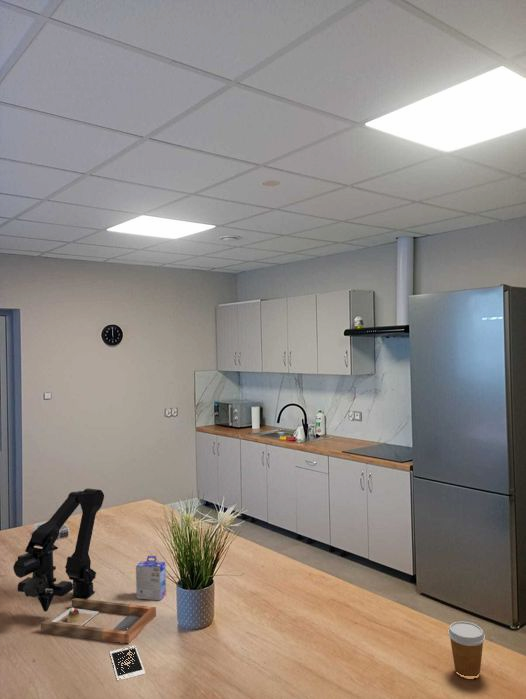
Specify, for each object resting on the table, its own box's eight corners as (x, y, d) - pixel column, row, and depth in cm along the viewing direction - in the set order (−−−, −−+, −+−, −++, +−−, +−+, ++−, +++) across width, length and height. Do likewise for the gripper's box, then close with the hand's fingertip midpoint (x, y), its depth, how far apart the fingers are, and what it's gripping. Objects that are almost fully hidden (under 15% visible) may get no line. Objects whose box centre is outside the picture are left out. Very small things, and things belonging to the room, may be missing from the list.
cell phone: (117, 683, 149) (117, 680, 149) (109, 653, 164) (109, 651, 164) (145, 675, 152) (145, 673, 152) (135, 647, 167) (135, 644, 167)
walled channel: (40, 632, 177) (40, 622, 177) (74, 606, 194) (74, 597, 194) (129, 644, 168) (128, 634, 168) (156, 615, 185) (155, 607, 185)
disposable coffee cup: (443, 664, 152) (442, 621, 152) (475, 661, 153) (474, 619, 153) (458, 685, 143) (457, 640, 143) (493, 682, 144) (491, 637, 143)
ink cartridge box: (167, 593, 202) (165, 555, 202) (161, 600, 196) (160, 561, 196) (142, 592, 204) (141, 554, 204) (136, 599, 198) (134, 559, 198)
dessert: (99, 614, 188) (99, 601, 188) (77, 632, 177) (76, 618, 177) (71, 610, 192) (70, 597, 192) (47, 627, 181) (46, 613, 181)
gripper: (4, 573, 182) (6, 619, 182) (52, 578, 177) (53, 625, 177) (28, 560, 193) (29, 604, 193) (73, 564, 187) (74, 609, 187)
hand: (45, 611), depth 187 cm, fingers closed
